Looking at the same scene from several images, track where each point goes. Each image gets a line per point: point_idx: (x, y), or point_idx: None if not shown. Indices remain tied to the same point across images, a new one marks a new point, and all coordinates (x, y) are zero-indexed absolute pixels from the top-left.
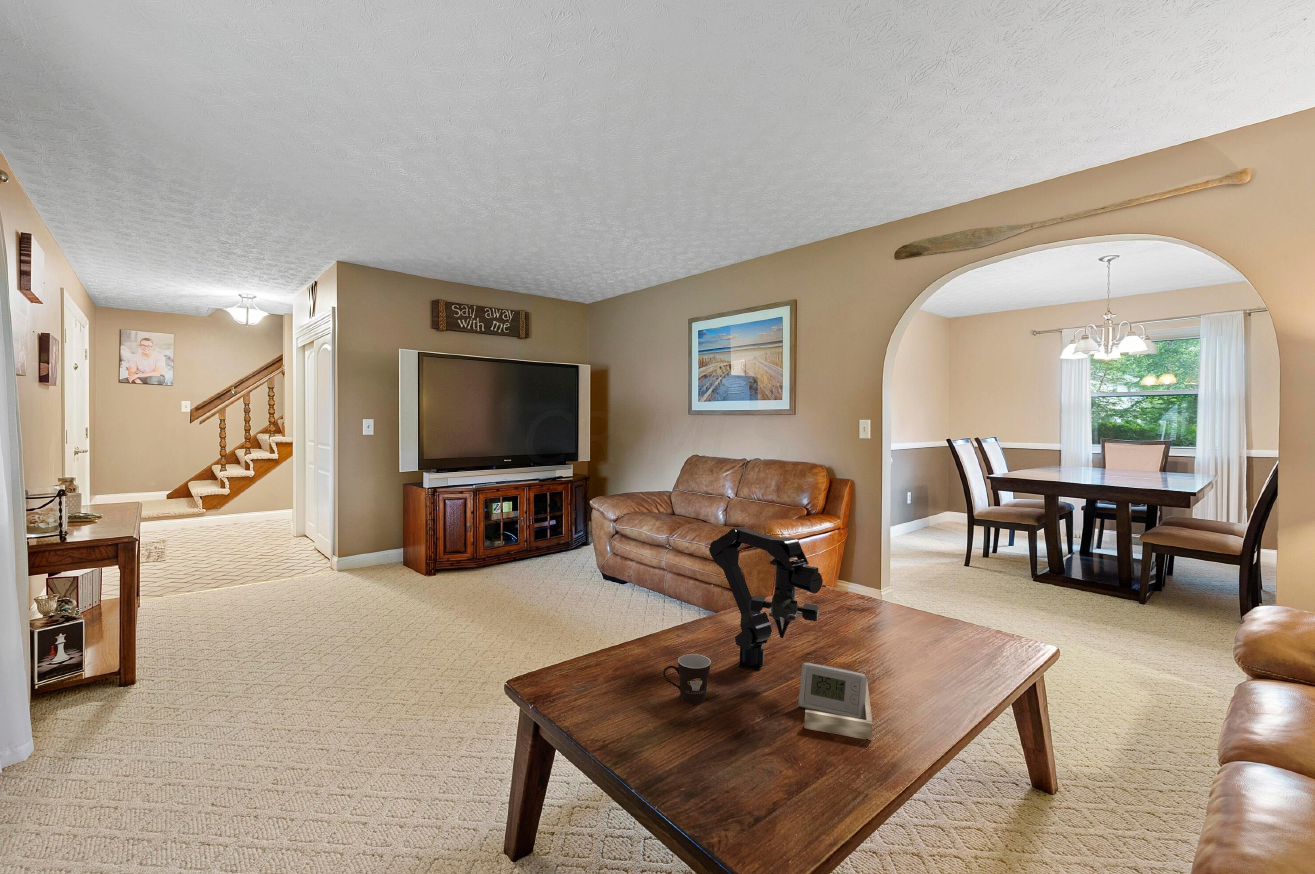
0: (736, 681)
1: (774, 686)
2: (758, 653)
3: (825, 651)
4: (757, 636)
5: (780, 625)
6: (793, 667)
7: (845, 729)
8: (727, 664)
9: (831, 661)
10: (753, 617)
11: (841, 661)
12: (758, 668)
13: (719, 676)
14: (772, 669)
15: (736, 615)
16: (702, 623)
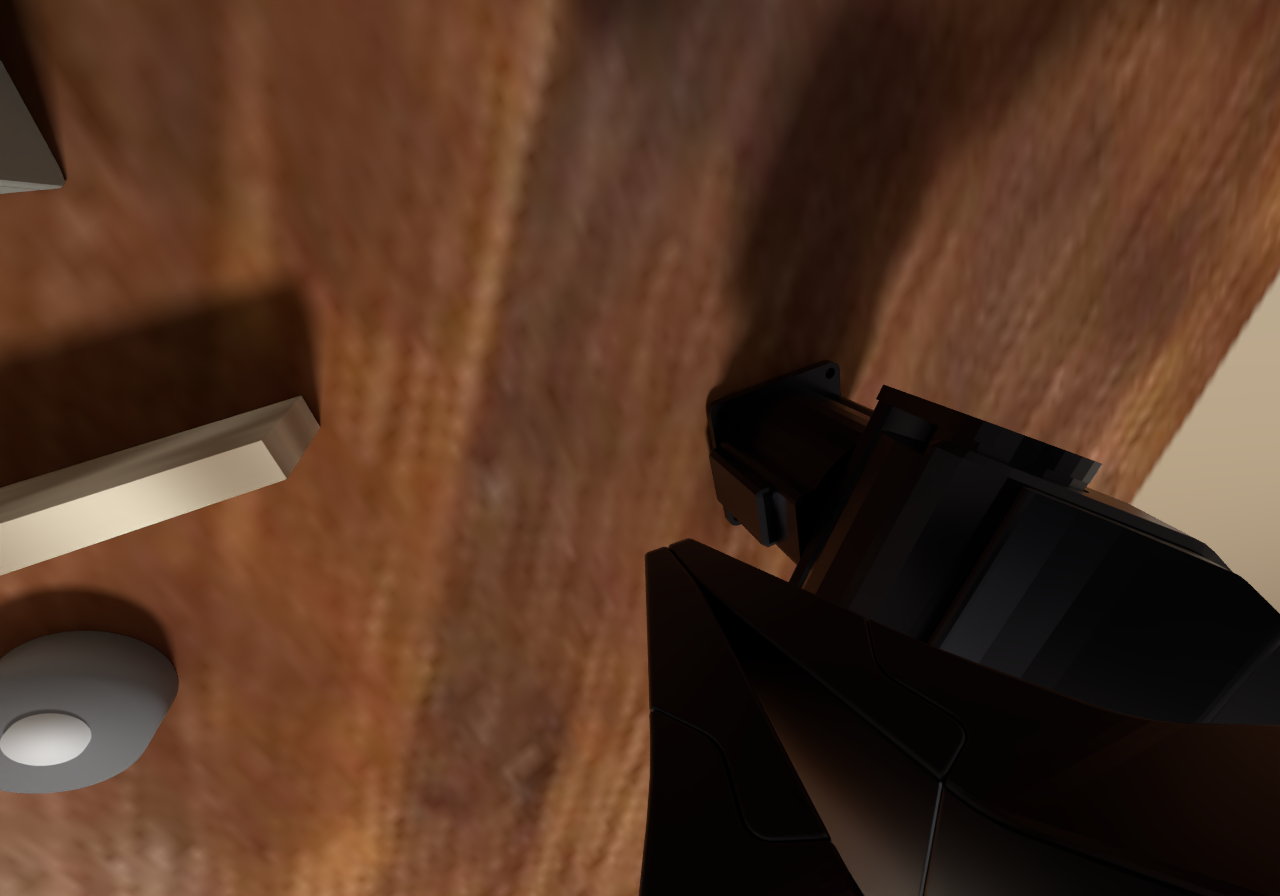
0: (794, 129)
1: (530, 225)
2: (781, 467)
3: (477, 854)
4: (931, 451)
5: (832, 678)
6: (542, 585)
7: None
8: (887, 350)
9: (385, 802)
10: (1241, 610)
11: (334, 844)
12: (719, 402)
13: (904, 140)
14: (642, 472)
15: None
16: None
